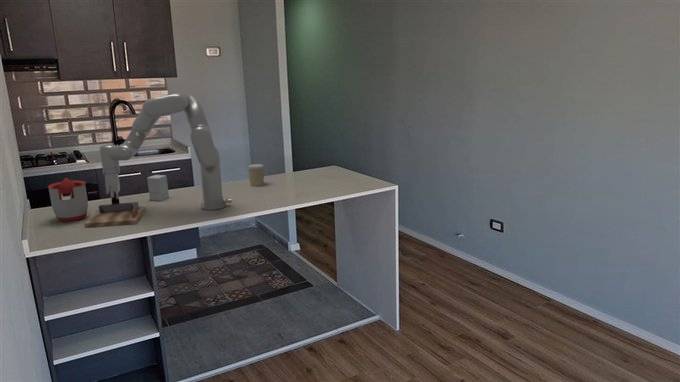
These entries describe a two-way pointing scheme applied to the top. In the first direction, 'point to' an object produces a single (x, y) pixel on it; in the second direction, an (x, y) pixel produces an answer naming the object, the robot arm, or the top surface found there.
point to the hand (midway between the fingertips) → (116, 206)
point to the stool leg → (118, 207)
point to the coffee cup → (256, 175)
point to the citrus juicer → (69, 200)
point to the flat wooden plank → (115, 218)
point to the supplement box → (158, 187)
